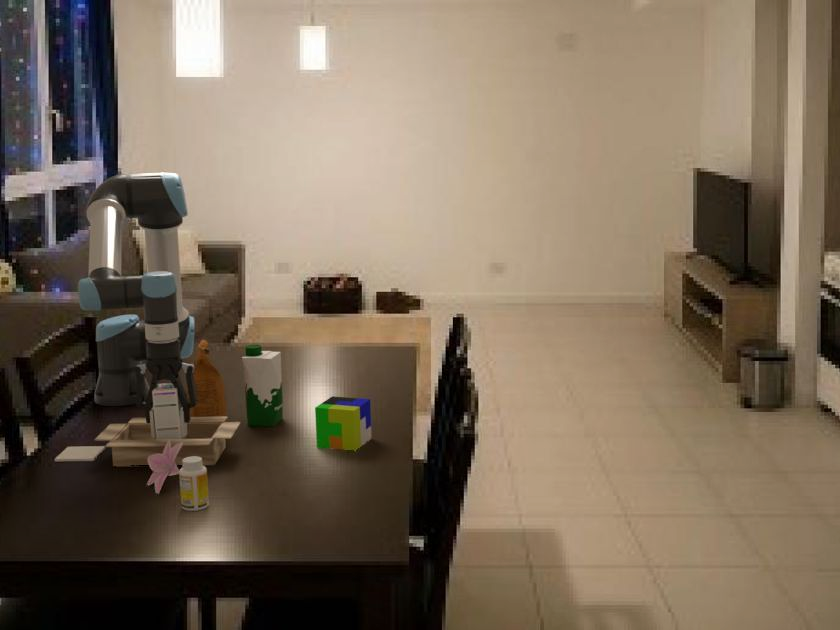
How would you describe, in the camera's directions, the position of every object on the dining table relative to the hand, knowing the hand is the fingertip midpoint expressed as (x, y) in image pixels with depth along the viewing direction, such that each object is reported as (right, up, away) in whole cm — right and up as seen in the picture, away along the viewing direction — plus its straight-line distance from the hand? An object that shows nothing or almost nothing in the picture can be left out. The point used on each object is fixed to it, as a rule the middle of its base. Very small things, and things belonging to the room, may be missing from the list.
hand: (169, 435), depth 248 cm
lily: (+4, -9, -18) cm, 21 cm away
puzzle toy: (+40, -3, +8) cm, 41 cm away
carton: (0, -5, +1) cm, 5 cm away
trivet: (-22, -5, +3) cm, 23 cm away
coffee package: (+5, -1, +22) cm, 23 cm away
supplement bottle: (+13, -11, -31) cm, 35 cm away
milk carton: (+19, 0, +26) cm, 32 cm away
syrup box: (0, -3, +1) cm, 3 cm away
